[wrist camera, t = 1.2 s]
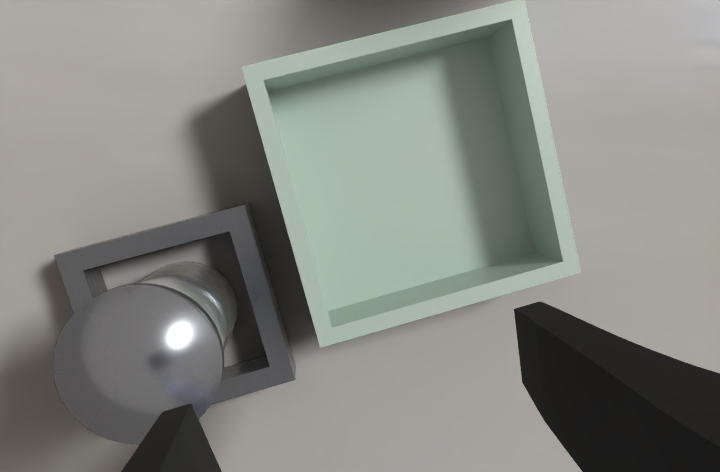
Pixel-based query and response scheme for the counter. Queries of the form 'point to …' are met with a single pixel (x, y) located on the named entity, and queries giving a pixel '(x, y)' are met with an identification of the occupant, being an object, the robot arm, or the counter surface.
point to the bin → (415, 169)
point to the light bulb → (145, 350)
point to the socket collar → (278, 363)
